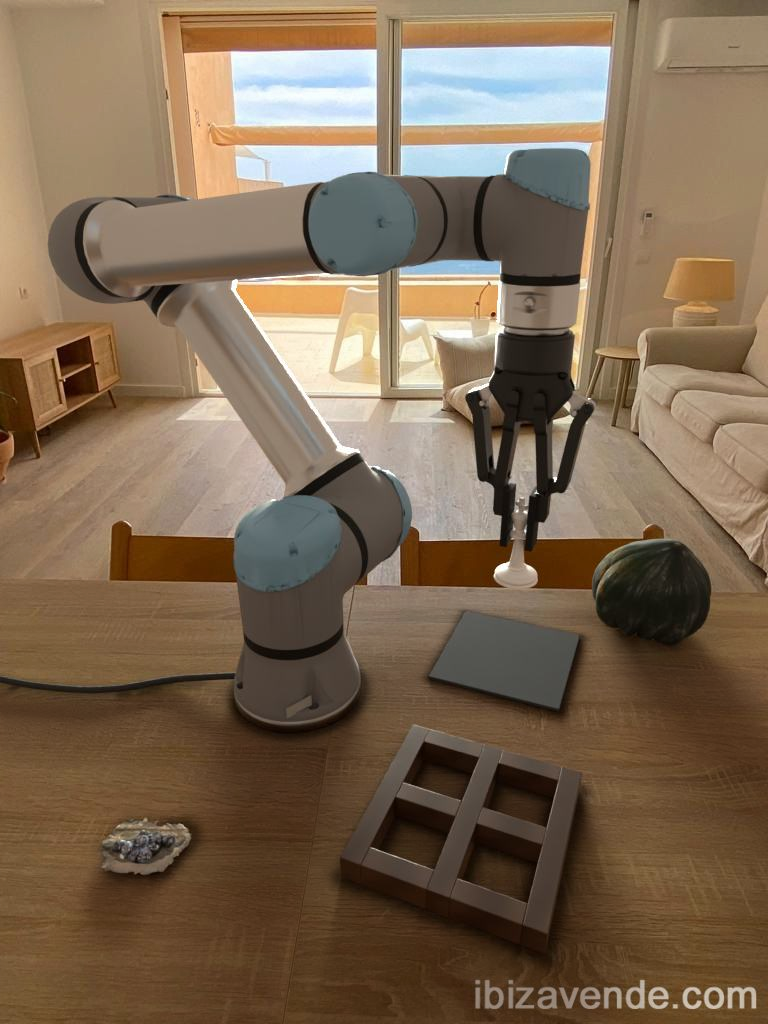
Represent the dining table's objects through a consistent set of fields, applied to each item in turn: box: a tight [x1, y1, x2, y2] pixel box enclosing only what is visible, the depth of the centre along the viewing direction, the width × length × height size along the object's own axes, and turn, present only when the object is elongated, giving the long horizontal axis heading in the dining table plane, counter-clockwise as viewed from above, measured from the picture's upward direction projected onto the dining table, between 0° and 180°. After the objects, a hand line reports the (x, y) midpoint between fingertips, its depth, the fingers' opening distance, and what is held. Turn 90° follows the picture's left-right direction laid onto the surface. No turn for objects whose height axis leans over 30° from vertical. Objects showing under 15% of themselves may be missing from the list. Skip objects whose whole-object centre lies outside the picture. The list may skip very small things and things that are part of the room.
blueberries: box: [100, 817, 192, 876], centre depth 64 cm, size 7×8×2 cm
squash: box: [591, 538, 712, 646], centre depth 93 cm, size 14×15×15 cm
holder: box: [339, 724, 583, 955], centre depth 65 cm, size 18×18×2 cm
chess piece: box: [493, 496, 539, 590], centre depth 77 cm, size 5×5×10 cm
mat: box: [428, 610, 581, 712], centre depth 90 cm, size 16×16×1 cm
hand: (518, 543), depth 77 cm, fingers closed on chess piece, 2 cm apart
